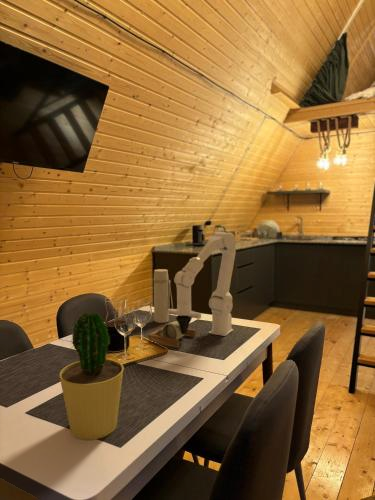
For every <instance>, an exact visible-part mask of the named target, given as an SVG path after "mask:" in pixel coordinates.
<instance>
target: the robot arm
mask: <svg viewBox="0 0 375 500" xmlns="http://www.w3.org/2000/svg"><path fill="white" fill-rule="evenodd" d="M236 243H237V238H236V237H235V235H234V234H233V233H232V232H223V231H214V232H212V233H211V235H210V236H209V237H208V241H207V242H206V244H205V245H204V246H203V248H202V249H201V250H200V252H199V253H198V254H197V256H196V257H195V256H194V257H192V258H189V260H188V262H187V263H186V265H185V266H184V267H182V269H181V270H179V271H178V272H176V273H175V275H174V278H173V281H174V283H175V285H176V286H175V287H176V288H175V289H176V308H173V309H172V308H169V310H168V314H169V316H170V315H174V316H177V317H175V320H176V321H178V323H179V325H180V328H181V332H182V334H186V333H187V329H189V325H190V323H191V321H192V319H197V320H199V319H201V318H202V313H201V312H197V311H194V310H192V286H193V284H194V282H195V278H196V277H197V275H198V274H199V272H200V271H201V270H202V269H203V268H204V262H205V261H206V260H207V259H209V257H210V256H211V254H213V252H215V250H219V252H220V253H221V254H222V255H221V261H220V267H219V272H218V273H219V274H218V277H217V278H218V279H217V286H216V289H215V290H214V291H213V292H212V293H211V296H210V298H209V301H208V307H209V308H210V309H211V312H212V314H211V316H212V317H211V318H212V320H211V321H212V322H211V323H212V324H211V326H212V327H211V328H212V329H211V330H210V331H208V334H211V335H218V336H224V337H226V336H227V335H228V334H230V333H231V332H233V331H234V328H232V324H233V323H232V319H233V318H232V314H231V312H232V310H233V296H232V294H231V293H230V288H231V280H232V275H233V270H234V263H235V258H236V253H237V251H236Z"/></svg>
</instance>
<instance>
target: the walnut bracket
mask: <svg viewBox="0 0 375 500" xmlns="http://www.w3.org/2000/svg"><path fill="white" fill-rule="evenodd" d="M162 329H163V327H161V328H159V329H156V330H155V331H153V332H151V333H149V334H148V335H147V336H148V337H147V339H148V340H150V341H153V342H156V343H158V344H157V345H162V346H166V347H172V348H175V349H178V348H180V339H173V338H167V337H162V336H160V334H161V333H162ZM184 336H185V337H191V338H196V337H197V329H195V328H188V329H187V333H186V334H185V335H184ZM148 340H147V341H148ZM156 343H155V344H156Z"/></svg>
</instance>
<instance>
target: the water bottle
mask: <svg viewBox="0 0 375 500" xmlns="http://www.w3.org/2000/svg"><path fill="white" fill-rule="evenodd" d="M153 271H154V272H153V311H154V312H153V314H154V315H153V318H154V322H155V323H158V324H167V322H169V320H170V317H169V316H170V315H169V314H168V310H169V309H170V302H173V298H172V297H173V296H172V295H171V294H172V291H171V289H172V288H171V280H170V279H169V273H168V272H169V270H168V269H164V268H161V269H160V268H159V269H154V270H153ZM170 299H171V301H170ZM173 304H174V303H171V309H174V307H173Z"/></svg>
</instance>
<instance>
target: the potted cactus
mask: <svg viewBox="0 0 375 500" xmlns="http://www.w3.org/2000/svg"><path fill="white" fill-rule="evenodd" d="M78 313H79V315H80V316H79V317H78V316H76V319H75V320H76V321H75V323H73V324H74V325H73V327H71V328H72V333H71V332H70V333H69V334H70V335H71V336H70V337H71V340H69V341H68V342H70V343H71V344H72V346H71V349H73V350H75V352H77V353H78V354H76V356H78V359H79V361H74V362H72V363H70V364H68V365H66V366H65V367H63V368H62V369H61V370H60V372H59V378H60V379H59V380H60V384H61V385H60V386H61V389H62V394H63V400H64V404H65V409H66V415H67V420H68V424H69V429H70V432H71V434H72V436H73V437H75V438H76V439H80V440H84V441H85V440H88V441H89V440H98V439H101V438H104V437H106V436H108V435H110V434H112V432H114V431H115V430H116V427H117V424H118V417H119V407H120V400H121V392H122V384H123V376H124V371H125V370H124V369H125V367H124V365H123V363H121V362H120V361H118V360H116V359H111V358H107V357H106V356H107V351H108V352H111V350H110V349H109V348H108V347H109V344H110V345H112V343H110V342H111V339H110V338H111V336H112V335H113V334H112V335H111V336H110V335H109V334H111V332H110V333H108V331H110V330H111V328H110V329H108V328H109V327H107V325H106V324H107V321H104V320H105V318H102V316H101V315H100V312H99V311H97V312H96V311H95V312H84V313H83V314H81V313H80V312H78Z"/></svg>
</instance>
